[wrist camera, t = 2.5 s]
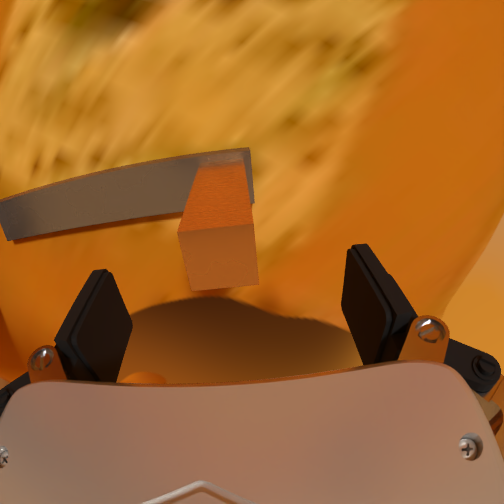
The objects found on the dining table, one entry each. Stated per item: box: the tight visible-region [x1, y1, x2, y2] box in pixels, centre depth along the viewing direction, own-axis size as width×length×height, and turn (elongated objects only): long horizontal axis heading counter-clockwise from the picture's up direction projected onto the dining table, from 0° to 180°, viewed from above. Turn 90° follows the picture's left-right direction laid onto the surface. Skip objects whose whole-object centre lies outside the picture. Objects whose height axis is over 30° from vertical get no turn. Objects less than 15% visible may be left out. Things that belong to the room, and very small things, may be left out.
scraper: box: [0, 147, 259, 291], centre depth 17 cm, size 24×4×11 cm, turn 95°
